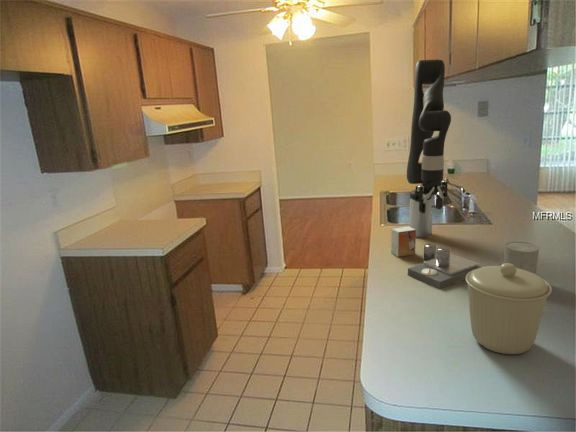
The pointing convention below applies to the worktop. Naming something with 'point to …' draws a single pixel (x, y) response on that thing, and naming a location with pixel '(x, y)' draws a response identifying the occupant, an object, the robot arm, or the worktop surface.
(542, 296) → the canister
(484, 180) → the worktop surface
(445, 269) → the shower mixer plate
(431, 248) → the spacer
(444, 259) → the cylinder
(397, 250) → the small box
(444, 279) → the scale
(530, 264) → the grey round cylinder
